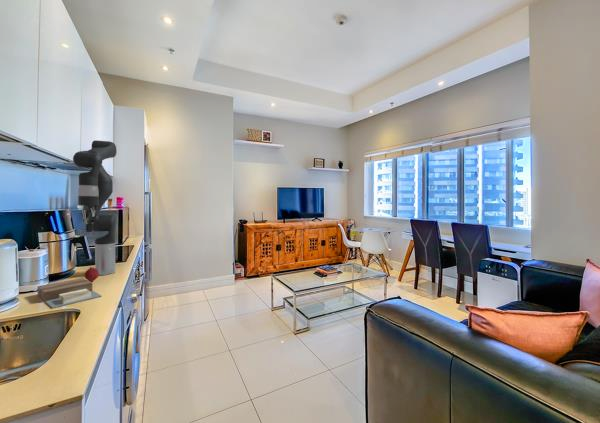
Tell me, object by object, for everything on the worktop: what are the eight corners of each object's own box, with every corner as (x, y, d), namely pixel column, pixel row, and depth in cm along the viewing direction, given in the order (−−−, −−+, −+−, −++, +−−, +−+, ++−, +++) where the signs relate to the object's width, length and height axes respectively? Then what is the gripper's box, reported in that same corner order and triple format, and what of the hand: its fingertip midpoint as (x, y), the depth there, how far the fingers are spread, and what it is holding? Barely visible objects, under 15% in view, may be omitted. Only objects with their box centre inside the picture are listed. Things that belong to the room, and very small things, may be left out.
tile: (63, 297, 106) (63, 303, 106) (90, 291, 113) (90, 297, 113) (59, 294, 109) (59, 300, 109) (86, 288, 117) (86, 294, 117)
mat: (45, 302, 108) (45, 301, 108) (92, 291, 121) (92, 290, 121) (52, 308, 102) (52, 307, 102) (101, 296, 116) (101, 295, 115)
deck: (37, 295, 115) (37, 286, 115) (83, 286, 128) (83, 277, 128) (45, 302, 108) (44, 292, 108) (92, 291, 121) (92, 282, 121)
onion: (101, 280, 138) (101, 265, 137) (92, 283, 132) (92, 267, 132) (91, 279, 138) (91, 264, 138) (81, 283, 133) (81, 267, 132)
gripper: (103, 195, 124) (103, 232, 124) (93, 195, 131) (93, 229, 132) (83, 195, 117) (84, 233, 118) (73, 194, 125) (74, 231, 126)
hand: (88, 231), depth 125 cm, fingers closed
